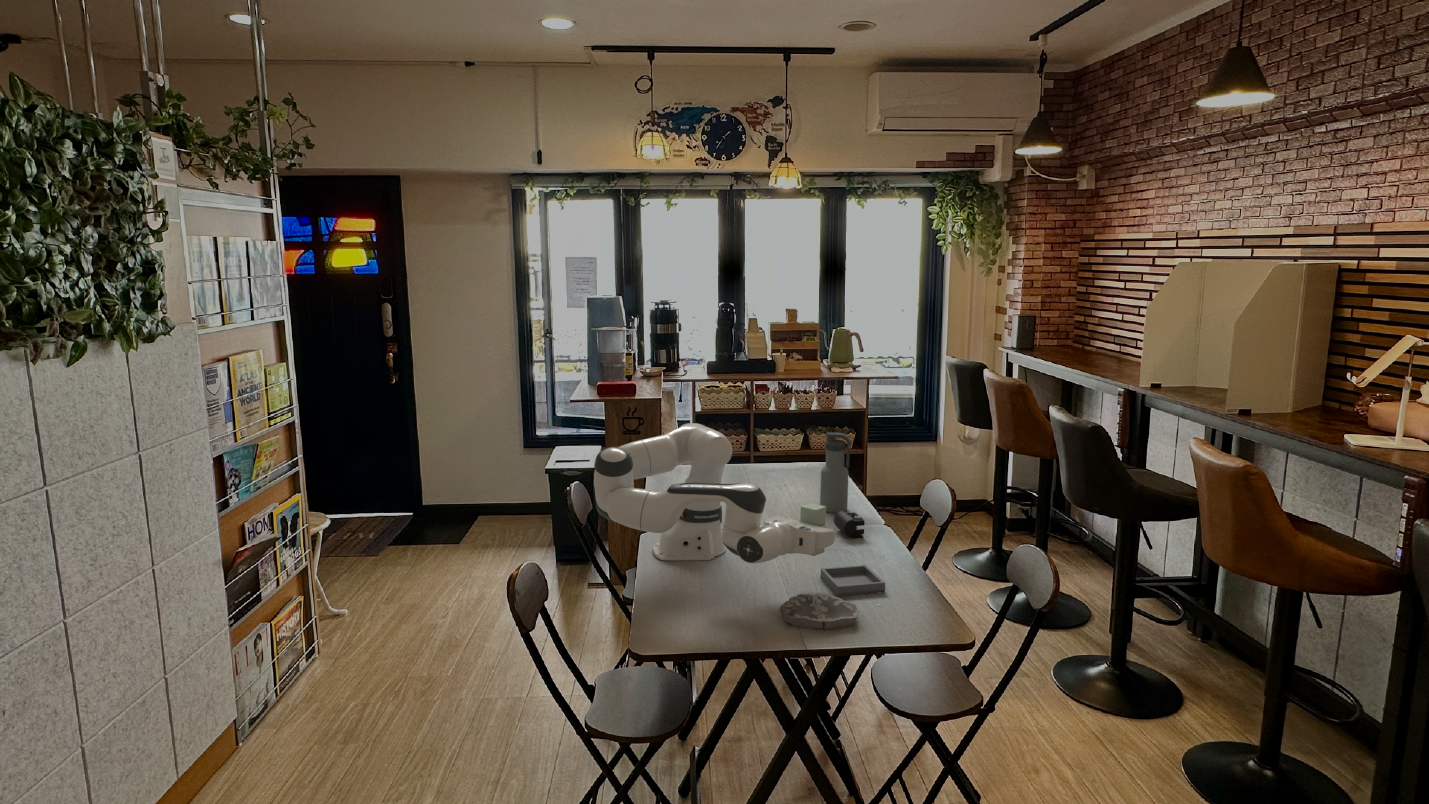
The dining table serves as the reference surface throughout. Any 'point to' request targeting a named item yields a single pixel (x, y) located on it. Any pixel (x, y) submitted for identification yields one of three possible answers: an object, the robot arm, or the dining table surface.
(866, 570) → the grey tray
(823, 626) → the brain slice
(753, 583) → the dining table surface
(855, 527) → the end cap
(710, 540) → the robot arm
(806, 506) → the sage block
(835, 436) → the water bottle
